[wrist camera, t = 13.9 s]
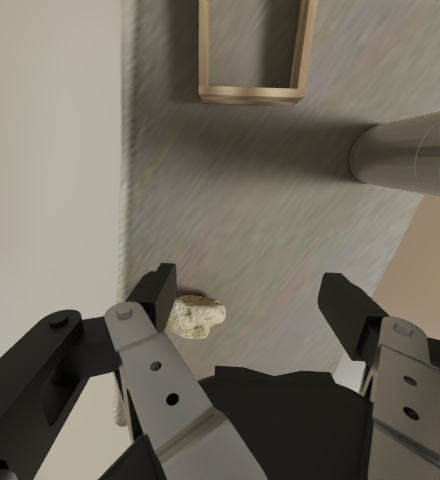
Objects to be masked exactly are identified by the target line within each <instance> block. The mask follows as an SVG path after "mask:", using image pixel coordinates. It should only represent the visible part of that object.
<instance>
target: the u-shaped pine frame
mask: <svg viewBox="0 0 440 480" xmlns="http://www.w3.org/2000/svg"><path fill="white" fill-rule="evenodd" d="M317 2H318V0H300V7H299V15H298V23H297V31H296V39H295V48H294V56H293V64H292V72H291V80H290V88H289V89H288V88H255V87H222V86H209V73H210V11H211V0H199V96H200V98H201V100H202V102H203V103H220V104H252V105H283V106H294V105H295V104H297V103H298V102H299V101H300V100H302V99H303V98H304V93H305V86H306V79H307V72H308V65H309V58H310V51H311V44H312V37H313V30H314V23H315V16H316V9H317Z"/></svg>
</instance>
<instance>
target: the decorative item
mask: <svg viewBox="0 0 440 480" xmlns="http://www.w3.org/2000/svg"><path fill="white" fill-rule="evenodd" d="M225 316H226V310H225V307H224V305H223V304H221V303H220V302H219V301H218V300H214V299H211V298H205V297H203V296H195V295H185V296H180V297H179V298H176V299H175V302H174V305H173V308H172V310H171V313H170V316H169V319H168V322H167V324H166V326H168V327H169V329H170V330H171V331H172V332H173V333H175V334H177V335H179V336H182V337H185V338H190V339H203V338H206V337H207V336H208V334H209V332H210V329H209V328H210V327H212V326H213V325H216V324H218V323H222V322H223V321H224V319H225Z"/></svg>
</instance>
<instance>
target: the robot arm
mask: <svg viewBox="0 0 440 480" xmlns="http://www.w3.org/2000/svg"><path fill="white" fill-rule="evenodd" d="M349 167H350V170H351V172H352V174H353V176H354V177H355V178H356V179H357V180H359V181H361V182H363V183H367V184H372V185H378V186H383V187H388V188H394V189H400V190H405V191H411V192H417V193H422V194H428V195H434V196H440V112H436V113H431V114H427V115H422V116H418V117H413V118H409V119H404V120H400V121H395V122H391V123H386V124H382V125H377V126H375V127H372V128H370V129H368V130H367V131H365V132H364V133H363V134H361V135H360V136H359V137H358V139H357V140H356V141H355V143H354V145H353V146H352V148H351V152H350V155H349ZM176 292H177V283H176V264H172V263H161V264H160V266H159V267H158V269H157V271H156V272H154V271H150V272H149V273H147V274H146V275H144V276H143V277H142V279H141V280H140V281H139V283H138V284H137V286H136V287H135V288H134V290H133V291H132V293H131V294H130V295H129V297H128V298H127V300H126V301H125V302H122V303H119V304H116V305H114V306H112V307H111V308H109V309H108V310H107V312H106V313H105V316H103V317H98V318H92V319H85V320H82V318H81V314H80V312H78V311H76V310H62V311H58V312H55V313H52V314H50V315H48V316H46V317H44V318H43V319H41V320H40V321H39V322H38V323H37V324H36V325H35V326H34V327H33V328H31V329H30V330H29V331H28V332H27V333H26V334H25V335H24V336H23V337H22V338H21V339H20V340H19V341H18V342H17V343H16V344H14V346H13V347H11V348H10V349H9V350H8V351H7V352H6V353H5V354H4V355H3V356H2V357H1V358H0V480H33V479H34V477H35V475H36V474H37V471H38V470H39V468H40V466H41V464H42V463H43V461H44V459H45V457H46V455H47V454H48V452H49V450H50V448H51V447H52V445H53V443H54V441H55V439H56V438H57V436H58V434H59V432H60V430H61V428H62V427H63V425H64V423H65V421H66V420H67V418H68V416H69V414H70V412H71V411H72V409H73V407H74V405H75V403H76V402H77V400H78V398H79V396H80V394H81V393H82V391H83V389H84V387H85V385H86V384H87V382H88V380H89V378H90V377H93V376H97V375H101V374H106V373H110V372H113V374H114V377H115V381H116V384H117V388H118V391H119V394H120V398H121V401H122V405H123V408H124V412H125V416H126V420H127V425H128V429H129V433H130V437H131V441H132V445H131V446H130V447H129V448H128V449H127V450H126V451H125V452H124V453H123V454H122V455H121V456H120V457H119V458H118V459H117V460H116V461H115V462H114V463H113V465H111V466H110V468H109V469H108V470H107V471H106V472H105V473H104V474H103V475H102V476H101V477H100V478H99V479H98V480H440V340H436V339H432V338H428V337H427V336H426V334H425V333H424V332H423V330H421V329H420V328H419V327H418V326H416V325H414V324H413V323H411V322H409V321H406V320H404V319H401V318H397V317H391V316H389V315H388V314H387V313H386V312H385V311H384V310H383V309H382V308H381V307H380V306H379V305H378V304H377V303H376V302H374V301H373V300H372V299H371V298H370V297H369V296H368V295H367V294H366V293H365V292H364V291H363V290H362V289H361V288H359V287H357V286H356V285H354V284H352V283H351V282H350V281H349V280H347V279H346V278H345V277H344V276H343V275H342V274H341V273H325V274H324V275H323V278H322V282H321V287H320V291H319V295H318V306H319V309H320V311H321V312H322V314H323V316H324V317H325V319H326V320H327V322H328V323H329V325H330V327H331V328H332V330H333V331H334V333H335V335H336V336H337V338H338V339H339V341H340V343H341V344H342V346H343V347H344V349H345V350H346V352H347V353H348V355H349V357H350V358H351V360H352V361H365V363H366V365H365V368H364V371H363V375H362V380H361V385H360V390H359V394H358V393H356V392H355V391H353V390H351V389H349V388H347V387H344V386H342V385H339V384H336V383H335V381H334V379H333V377H332V375H331V373H330V372H314V371H298V372H293V373H288V374H283V375H278V376H272V375H268V374H265V373H261V372H258V371H254V370H251V369H247V368H244V367H228V366H215V375H214V376H210V377H206V378H203V379H201V380H199V381H197V380H196V379H195V377H194V375H193V374H192V372H191V371H190V369H189V368H188V366H187V365H186V363H185V362H184V360H183V358H182V357H181V355H180V354H179V352H178V351H177V349H176V348H175V346H174V345H173V343H172V341H171V340H170V338H169V337H168V335H167V334H166V333H165V332H164V330H165V327H166V324H167V322H168V319H169V316H170V313H171V310H172V308H173V305H174V302H175V299H176Z"/></svg>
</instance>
